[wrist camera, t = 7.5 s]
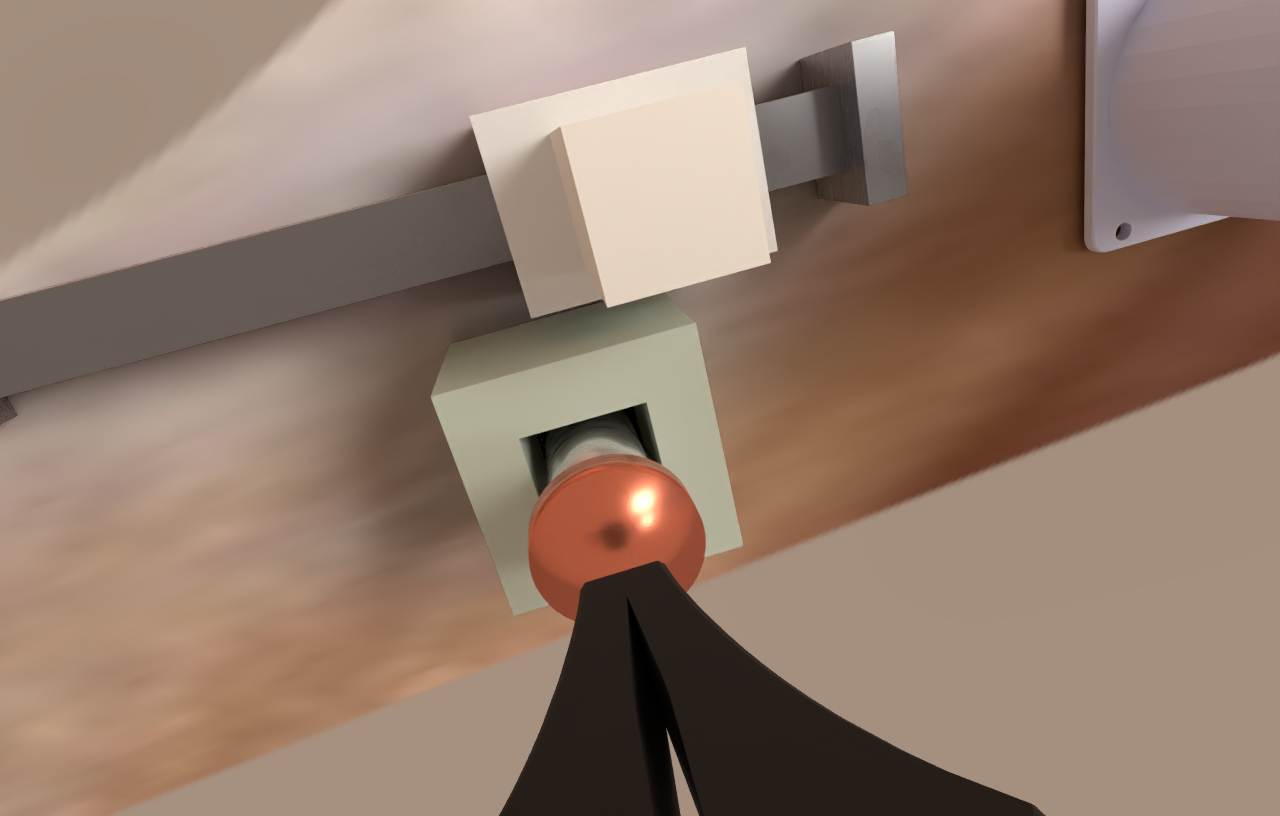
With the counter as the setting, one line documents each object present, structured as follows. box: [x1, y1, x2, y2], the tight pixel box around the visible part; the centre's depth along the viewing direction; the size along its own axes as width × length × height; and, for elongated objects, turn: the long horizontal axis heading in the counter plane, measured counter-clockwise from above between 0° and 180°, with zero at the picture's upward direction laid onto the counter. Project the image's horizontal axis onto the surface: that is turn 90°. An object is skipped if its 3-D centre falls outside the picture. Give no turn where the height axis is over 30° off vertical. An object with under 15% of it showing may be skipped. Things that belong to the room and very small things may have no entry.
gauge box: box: [431, 292, 743, 616], centre depth 18 cm, size 6×6×4 cm
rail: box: [0, 31, 908, 424], centre depth 16 cm, size 24×4×3 cm, turn 104°
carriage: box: [469, 47, 778, 319], centre depth 15 cm, size 6×4×7 cm
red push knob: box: [528, 410, 706, 621], centre depth 16 cm, size 3×3×5 cm
